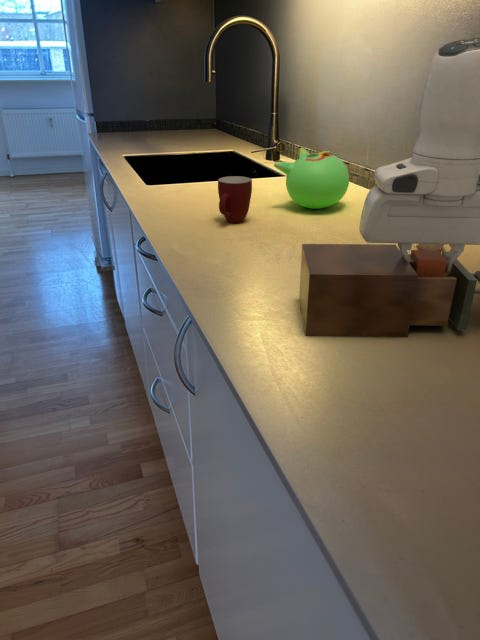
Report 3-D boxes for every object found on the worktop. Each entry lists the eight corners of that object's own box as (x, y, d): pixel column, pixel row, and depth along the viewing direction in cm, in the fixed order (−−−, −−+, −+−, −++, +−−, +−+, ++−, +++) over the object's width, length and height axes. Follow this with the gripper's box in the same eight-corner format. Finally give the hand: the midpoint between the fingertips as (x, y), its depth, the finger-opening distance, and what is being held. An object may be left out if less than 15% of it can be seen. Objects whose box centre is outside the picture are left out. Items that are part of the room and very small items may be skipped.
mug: (240, 230, 118) (240, 187, 114) (209, 226, 121) (207, 184, 116) (256, 218, 127) (256, 177, 122) (226, 215, 130) (225, 175, 125)
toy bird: (331, 219, 126) (336, 157, 119) (270, 210, 134) (271, 152, 127) (355, 203, 140) (360, 147, 133) (298, 195, 147) (301, 142, 141)
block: (432, 277, 78) (438, 250, 76) (441, 288, 74) (447, 260, 72) (406, 276, 78) (411, 249, 76) (413, 287, 75) (418, 259, 72)
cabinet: (387, 299, 84) (395, 244, 80) (407, 337, 73) (418, 274, 69) (299, 299, 85) (302, 243, 80) (305, 335, 74) (309, 273, 69)
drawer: (470, 297, 83) (481, 251, 80) (500, 330, 73) (514, 280, 69) (357, 296, 84) (362, 250, 80) (371, 329, 73) (377, 279, 70)
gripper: (510, 171, 71) (487, 264, 78) (363, 169, 72) (352, 261, 78) (532, 182, 66) (504, 280, 72) (372, 179, 66) (359, 277, 73)
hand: (424, 270), depth 75 cm, fingers closed on block, 3 cm apart
